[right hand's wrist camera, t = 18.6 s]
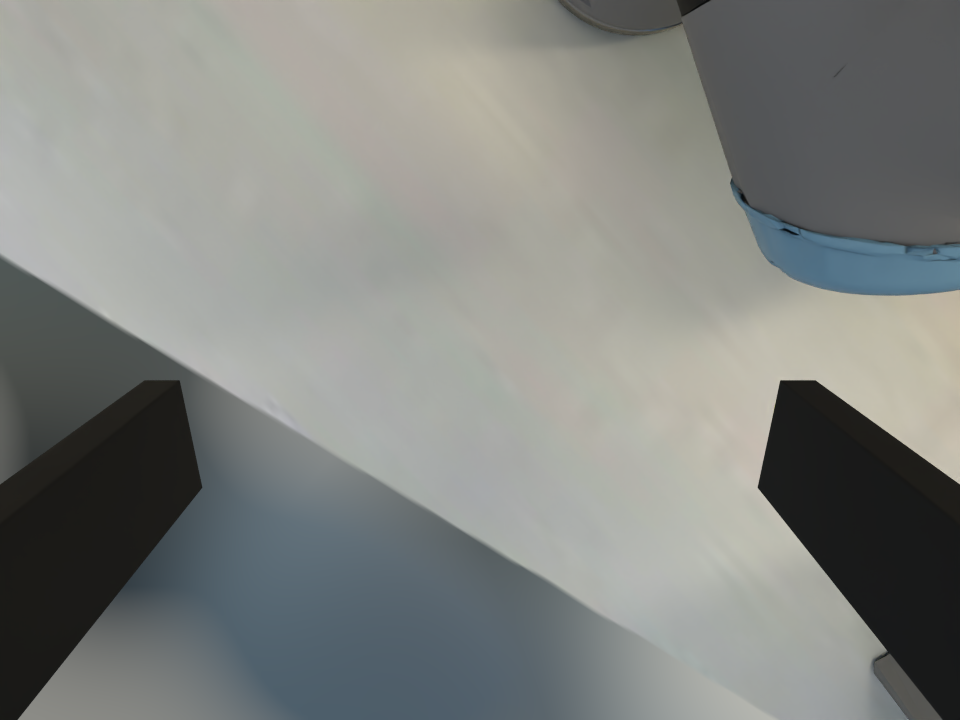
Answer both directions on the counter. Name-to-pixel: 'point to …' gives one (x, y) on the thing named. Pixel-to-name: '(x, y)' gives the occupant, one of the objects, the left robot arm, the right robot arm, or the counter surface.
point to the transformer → (903, 690)
